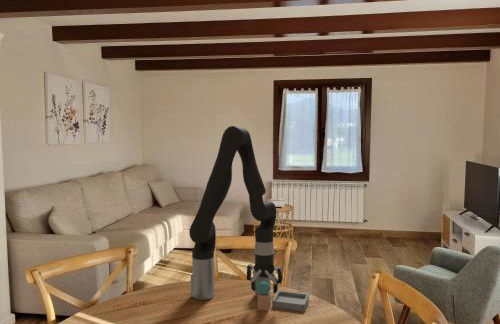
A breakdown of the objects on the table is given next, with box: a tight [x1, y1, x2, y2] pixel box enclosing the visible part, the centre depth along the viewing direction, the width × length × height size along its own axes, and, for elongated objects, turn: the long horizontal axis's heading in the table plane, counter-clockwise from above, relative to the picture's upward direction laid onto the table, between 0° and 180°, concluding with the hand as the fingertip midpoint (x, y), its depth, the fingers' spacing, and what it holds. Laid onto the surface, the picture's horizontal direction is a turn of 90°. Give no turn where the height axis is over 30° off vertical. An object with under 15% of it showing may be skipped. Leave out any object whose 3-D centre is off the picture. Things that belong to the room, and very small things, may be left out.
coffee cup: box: [251, 268, 272, 298], centre depth 174 cm, size 8×8×12 cm
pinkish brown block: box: [257, 291, 271, 312], centre depth 161 cm, size 4×4×6 cm
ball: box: [258, 282, 271, 295], centre depth 161 cm, size 5×5×5 cm
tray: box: [271, 290, 310, 312], centre depth 165 cm, size 13×11×3 cm
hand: (264, 291), depth 161 cm, fingers open, 8 cm apart
